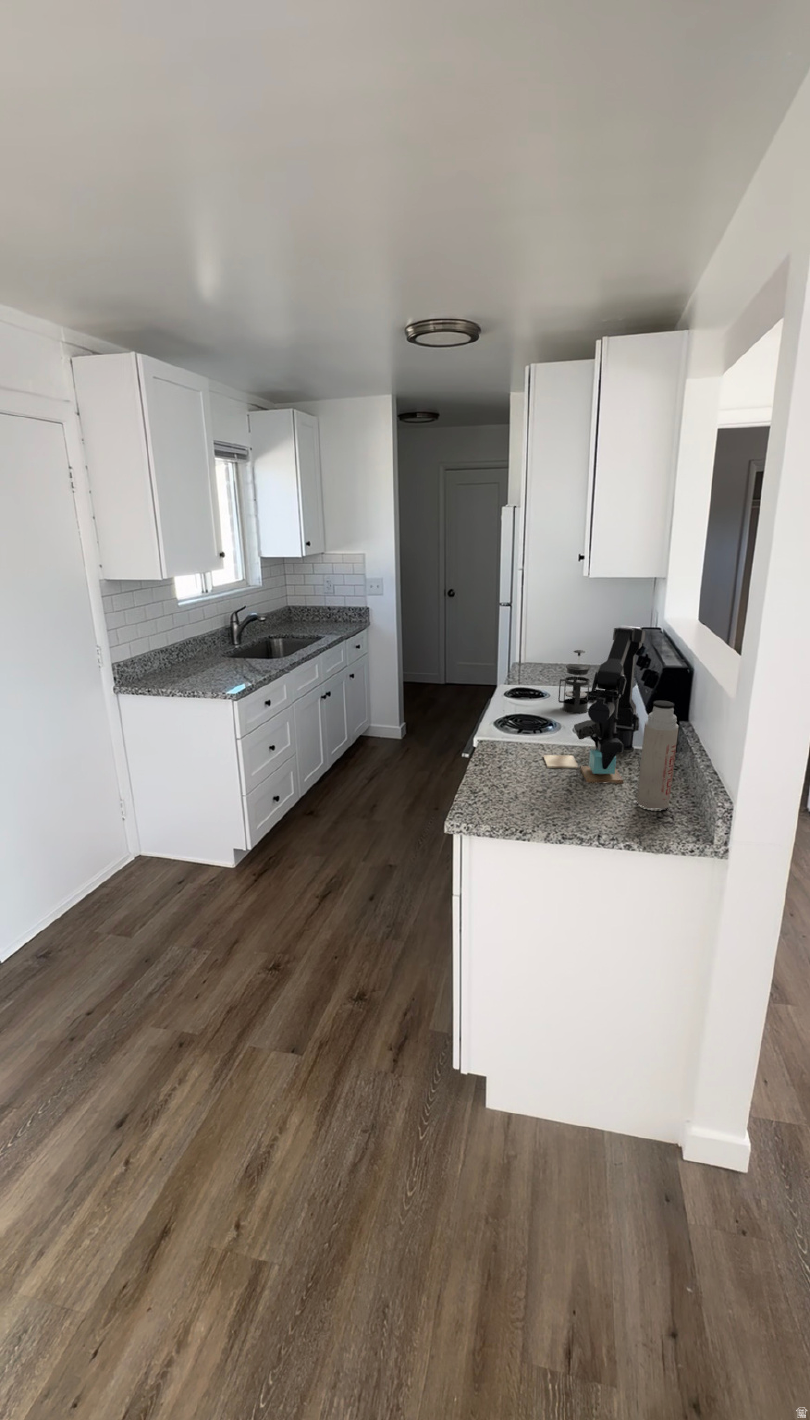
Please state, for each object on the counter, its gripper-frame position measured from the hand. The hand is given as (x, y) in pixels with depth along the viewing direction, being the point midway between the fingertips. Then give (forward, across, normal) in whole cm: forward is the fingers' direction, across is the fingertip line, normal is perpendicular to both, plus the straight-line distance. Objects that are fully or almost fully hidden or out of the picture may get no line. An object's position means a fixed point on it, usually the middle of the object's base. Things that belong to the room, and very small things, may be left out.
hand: (602, 764), depth 192 cm
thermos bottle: (+4, +19, +9) cm, 21 cm away
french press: (+4, -64, +4) cm, 64 cm away
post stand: (+4, 0, 0) cm, 4 cm away
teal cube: (+2, 0, 0) cm, 2 cm away
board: (+4, -10, -10) cm, 15 cm away
